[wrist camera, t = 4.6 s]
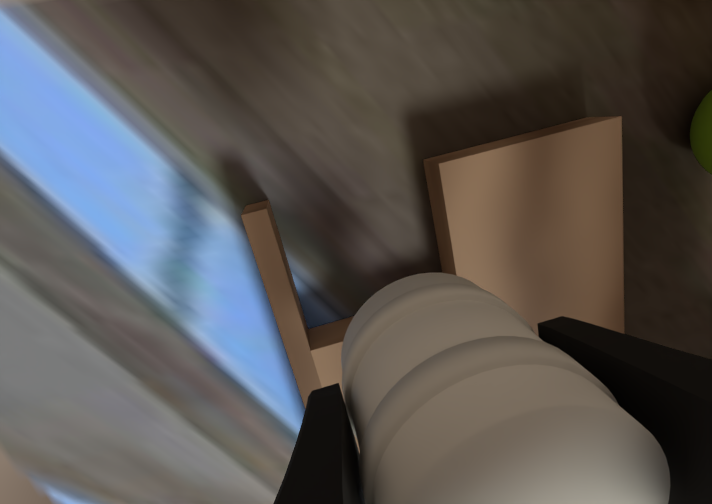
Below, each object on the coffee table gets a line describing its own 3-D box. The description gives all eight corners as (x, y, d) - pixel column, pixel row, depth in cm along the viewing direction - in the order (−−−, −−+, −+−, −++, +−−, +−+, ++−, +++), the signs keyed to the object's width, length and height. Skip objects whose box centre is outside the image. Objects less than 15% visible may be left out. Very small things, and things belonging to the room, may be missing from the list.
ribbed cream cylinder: (495, 246, 10) (679, 355, 5) (516, 395, 12) (674, 582, 7) (315, 300, 10) (341, 466, 5) (361, 445, 11) (414, 679, 6)
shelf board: (587, 117, 19) (621, 116, 17) (597, 368, 23) (625, 390, 21) (246, 205, 17) (240, 215, 16) (326, 453, 22) (330, 484, 20)
